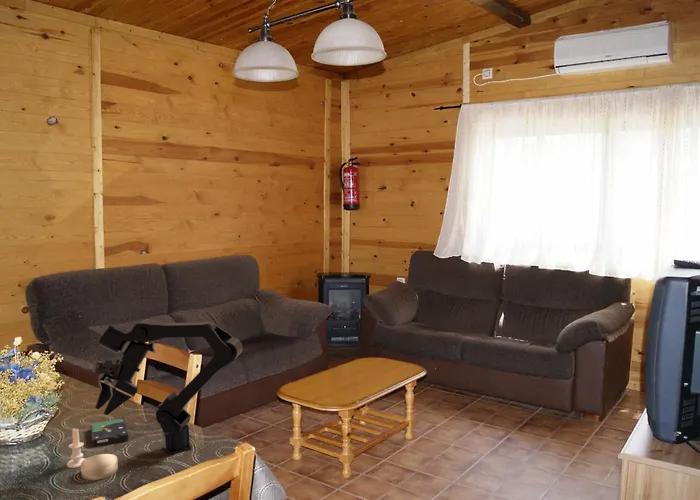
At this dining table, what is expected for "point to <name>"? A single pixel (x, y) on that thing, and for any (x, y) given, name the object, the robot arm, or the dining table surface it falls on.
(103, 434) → the disk drive
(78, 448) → the candle
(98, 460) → the stand
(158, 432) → the dining table surface
